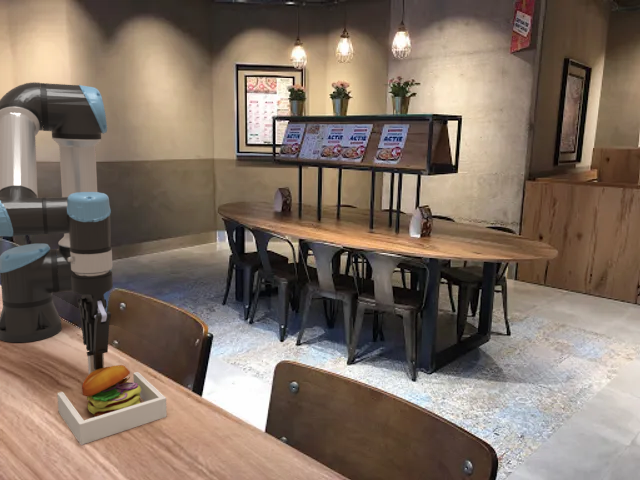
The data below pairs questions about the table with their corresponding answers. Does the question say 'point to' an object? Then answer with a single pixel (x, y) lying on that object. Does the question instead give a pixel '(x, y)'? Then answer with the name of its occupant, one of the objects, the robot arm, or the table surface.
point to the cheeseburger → (110, 390)
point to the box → (114, 414)
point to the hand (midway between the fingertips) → (96, 381)
